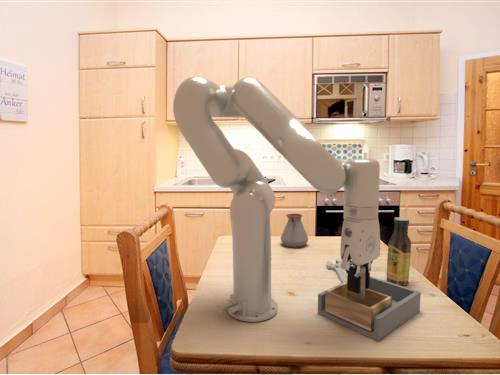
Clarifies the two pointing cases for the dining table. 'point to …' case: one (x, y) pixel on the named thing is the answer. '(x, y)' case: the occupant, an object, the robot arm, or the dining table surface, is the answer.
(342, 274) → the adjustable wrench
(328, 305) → the crate
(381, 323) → the bay
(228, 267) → the dining table surface
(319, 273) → the dining table surface
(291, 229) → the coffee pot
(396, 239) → the sauce bottle
